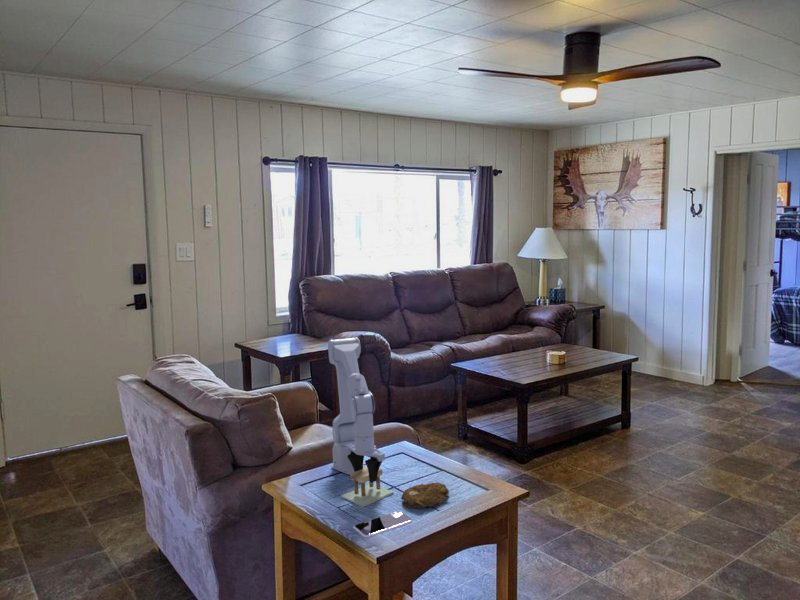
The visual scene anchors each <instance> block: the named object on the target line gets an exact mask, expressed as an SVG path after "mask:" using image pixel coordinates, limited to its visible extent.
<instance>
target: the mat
mask: <svg viewBox="0 0 800 600" xmlns="http://www.w3.org/2000/svg"><path fill="white" fill-rule="evenodd" d="M380 488H381V489H379V490H378V489H377V488H376V483H375V484H374V483H373V487H370V486H369V483H368V484H365V492H366V496H365V497H362V494H361V487H358V491H359V494H355V492H354V490H351V491H349V492H347V493H344V494H342V495H340V498H342V499H344V500H346V499H347V500H346V501H348V500H349V502H350V501H351V503H352V502H353V504H355V505H357V506H359V507H361V508H364V507H366V506H369V505H371V504H373V503H375V502H378V501H379V500H382V499H384V498H386V497H389V496H391V495H393V494H394V491H392V490H390V489H387V488H385V487H382V486H380Z"/></svg>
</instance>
